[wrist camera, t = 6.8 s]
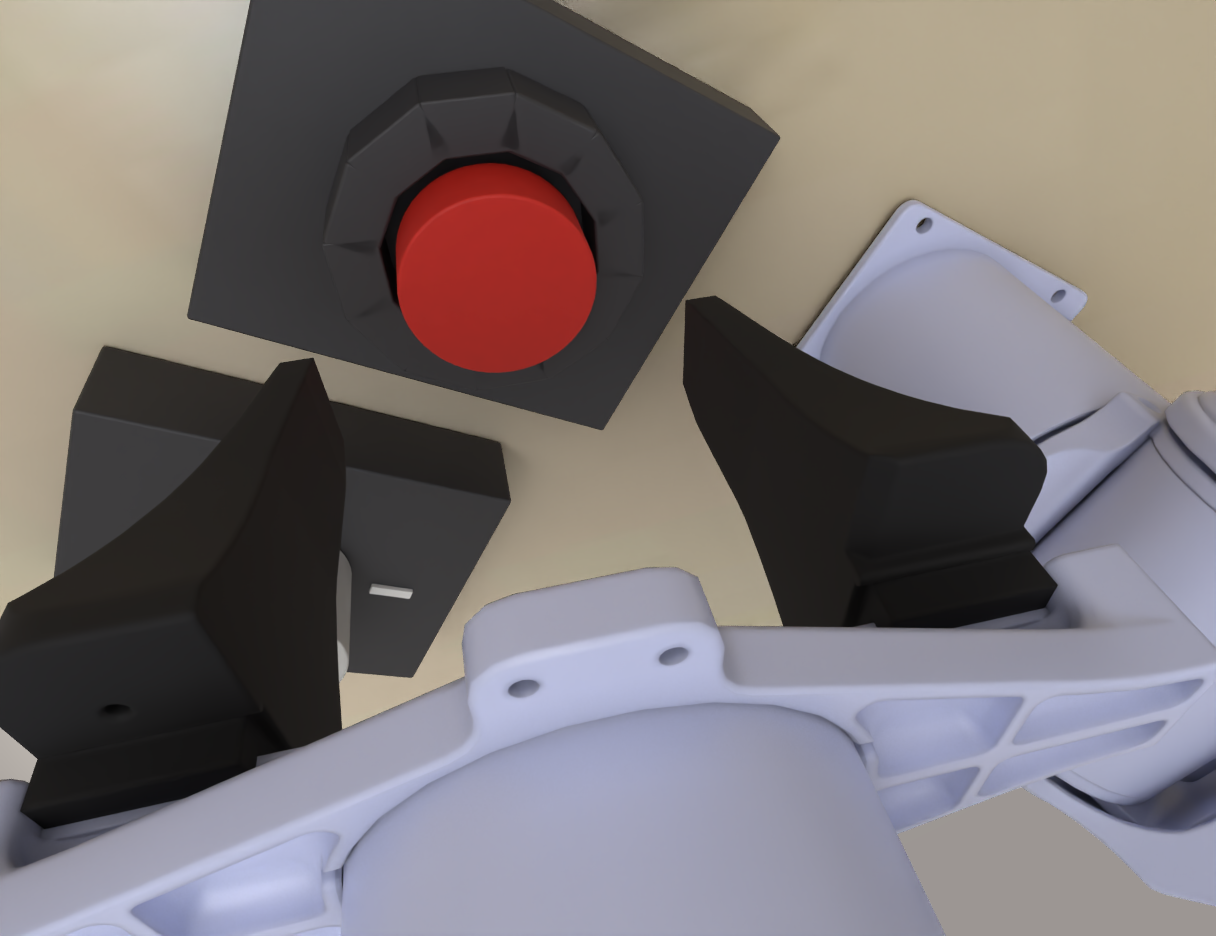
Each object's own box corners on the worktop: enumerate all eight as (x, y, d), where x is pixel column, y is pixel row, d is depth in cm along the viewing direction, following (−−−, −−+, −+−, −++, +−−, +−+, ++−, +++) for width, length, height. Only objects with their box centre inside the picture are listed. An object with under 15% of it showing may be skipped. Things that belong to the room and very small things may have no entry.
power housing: (751, 108, 21) (811, 164, 18) (589, 390, 26) (615, 468, 23) (287, -146, 15) (266, -123, 13) (200, 276, 21) (172, 359, 18)
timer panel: (501, 442, 27) (513, 505, 25) (410, 617, 32) (412, 682, 30) (102, 344, 21) (70, 413, 19) (72, 574, 27) (43, 650, 24)
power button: (613, 206, 18) (631, 239, 17) (537, 354, 20) (548, 393, 19) (432, 128, 16) (437, 159, 15) (371, 302, 18) (370, 343, 17)
